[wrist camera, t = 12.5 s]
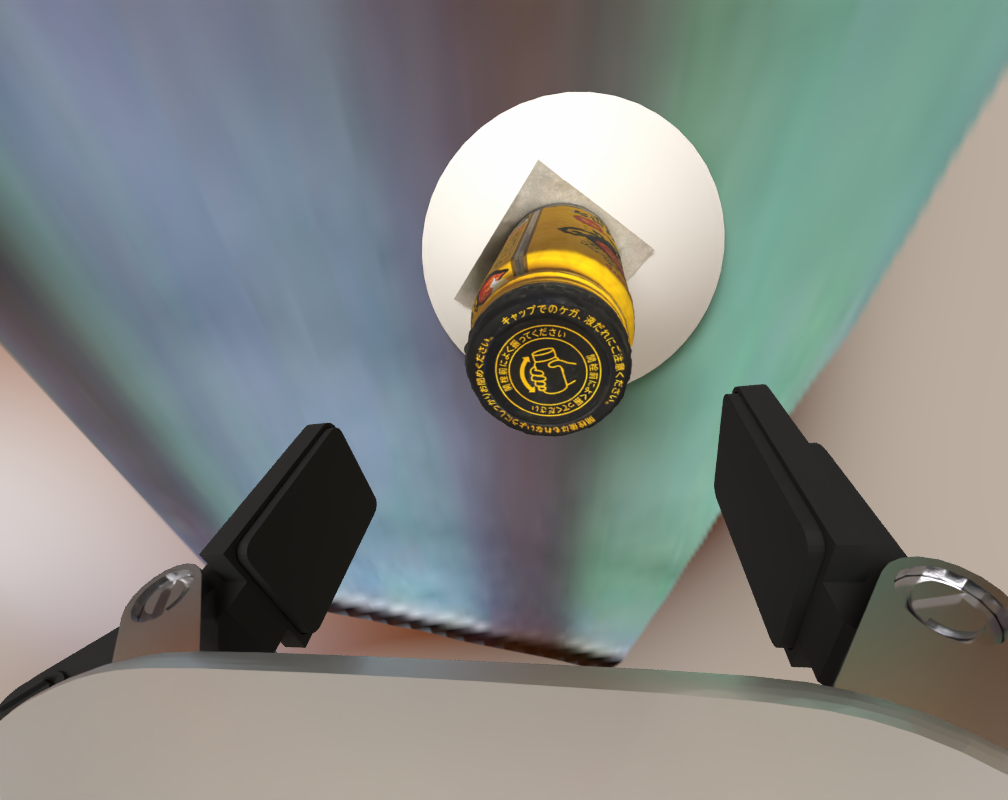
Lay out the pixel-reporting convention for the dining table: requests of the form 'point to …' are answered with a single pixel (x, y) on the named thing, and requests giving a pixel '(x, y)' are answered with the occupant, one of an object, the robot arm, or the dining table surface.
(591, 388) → the condiment
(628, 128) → the plate
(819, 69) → the dining table surface
